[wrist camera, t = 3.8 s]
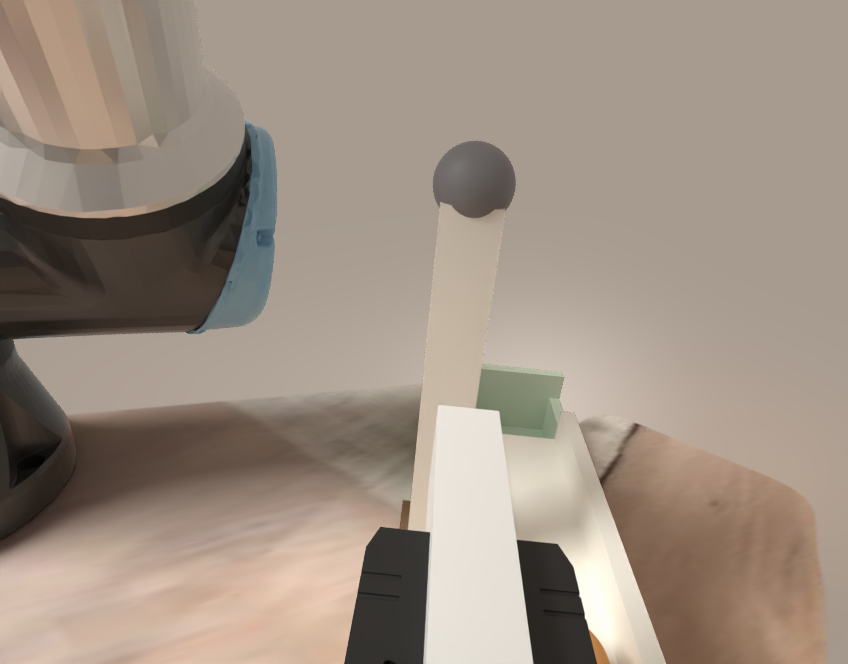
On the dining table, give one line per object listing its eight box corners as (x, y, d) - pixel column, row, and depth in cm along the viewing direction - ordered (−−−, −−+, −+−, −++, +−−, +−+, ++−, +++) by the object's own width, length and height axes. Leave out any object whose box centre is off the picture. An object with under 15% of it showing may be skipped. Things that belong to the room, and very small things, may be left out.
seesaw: (676, 839, 16) (1033, 255, 8) (370, 807, 16) (421, 195, 8) (563, 456, 32) (644, 137, 24) (411, 440, 32) (442, 117, 24)
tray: (574, 519, 35) (592, 452, 33) (411, 502, 35) (418, 435, 33) (549, 428, 44) (562, 371, 42) (420, 416, 44) (426, 358, 42)
